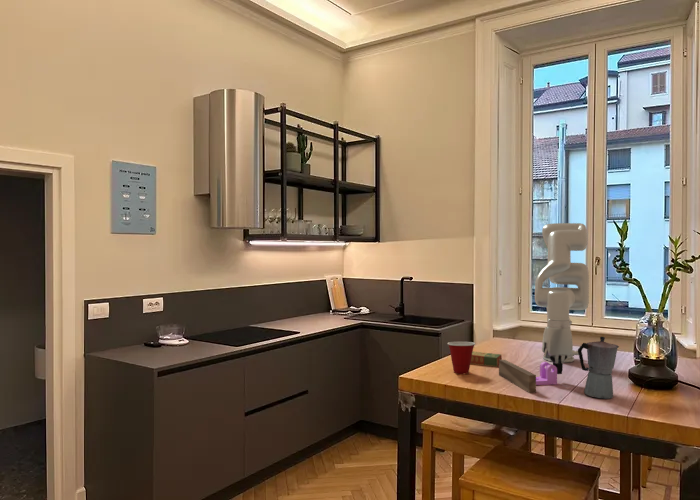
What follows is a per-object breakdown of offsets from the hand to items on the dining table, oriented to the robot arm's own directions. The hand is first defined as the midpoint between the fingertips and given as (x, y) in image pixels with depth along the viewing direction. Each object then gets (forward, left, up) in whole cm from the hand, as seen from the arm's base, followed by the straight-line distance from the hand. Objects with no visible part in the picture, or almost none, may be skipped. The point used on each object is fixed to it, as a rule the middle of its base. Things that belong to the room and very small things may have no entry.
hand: (557, 373), depth 199 cm
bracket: (+9, 0, -3) cm, 9 cm away
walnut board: (+16, 0, -3) cm, 17 cm away
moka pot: (-4, +19, -3) cm, 20 cm away
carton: (+16, -33, -4) cm, 37 cm away
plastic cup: (+30, -19, -3) cm, 36 cm away
